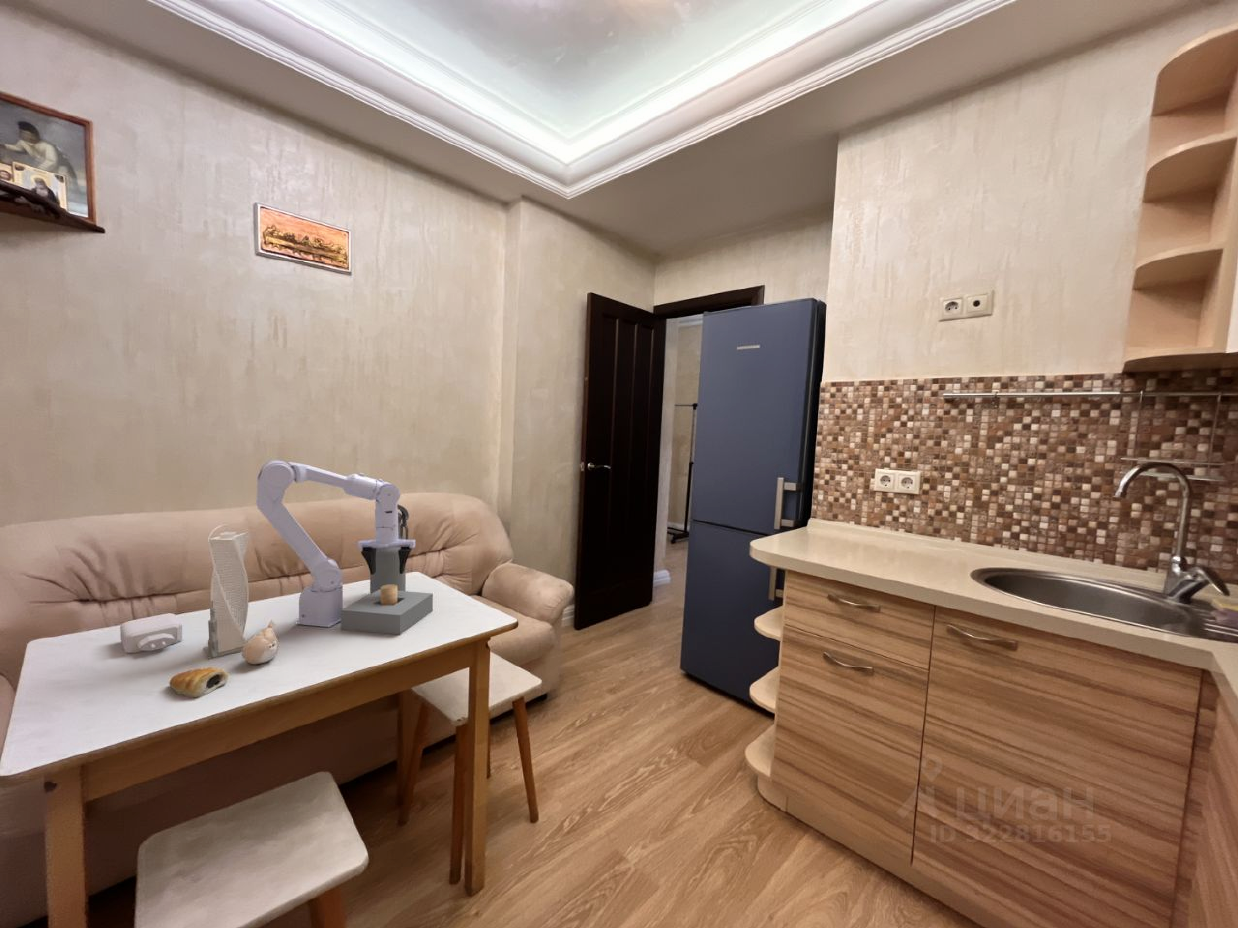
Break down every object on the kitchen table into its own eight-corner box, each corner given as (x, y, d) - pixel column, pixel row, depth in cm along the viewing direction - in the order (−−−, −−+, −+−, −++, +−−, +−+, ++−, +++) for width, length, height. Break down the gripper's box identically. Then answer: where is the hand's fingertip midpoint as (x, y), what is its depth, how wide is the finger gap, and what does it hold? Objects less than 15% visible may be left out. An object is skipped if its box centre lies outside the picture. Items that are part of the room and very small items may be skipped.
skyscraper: (201, 647, 107) (199, 525, 105) (246, 636, 113) (244, 521, 111) (208, 660, 101) (206, 532, 100) (255, 648, 108) (253, 527, 106)
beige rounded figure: (284, 660, 103) (284, 624, 102) (249, 671, 97) (248, 634, 97) (272, 651, 106) (271, 616, 106) (237, 662, 101) (236, 625, 101)
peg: (377, 621, 124) (377, 588, 124) (386, 615, 128) (386, 583, 128) (391, 623, 124) (391, 589, 123) (400, 617, 128) (400, 584, 127)
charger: (128, 665, 99) (120, 642, 108) (187, 650, 106) (175, 630, 115) (128, 643, 98) (120, 622, 108) (187, 629, 105) (174, 611, 115)
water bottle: (401, 587, 151) (402, 501, 149) (411, 596, 144) (412, 505, 142) (366, 593, 145) (367, 503, 143) (374, 602, 137) (375, 508, 135)
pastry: (157, 693, 89) (156, 674, 89) (194, 675, 96) (194, 657, 95) (198, 700, 87) (198, 680, 87) (234, 681, 94) (233, 663, 94)
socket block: (340, 628, 119) (340, 609, 119) (379, 606, 135) (379, 589, 135) (400, 634, 117) (400, 615, 117) (432, 610, 133) (432, 593, 133)
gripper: (353, 528, 126) (354, 578, 127) (410, 528, 128) (410, 576, 130) (363, 523, 133) (364, 570, 134) (417, 523, 135) (417, 569, 136)
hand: (387, 573), depth 132 cm, fingers open, 7 cm apart
